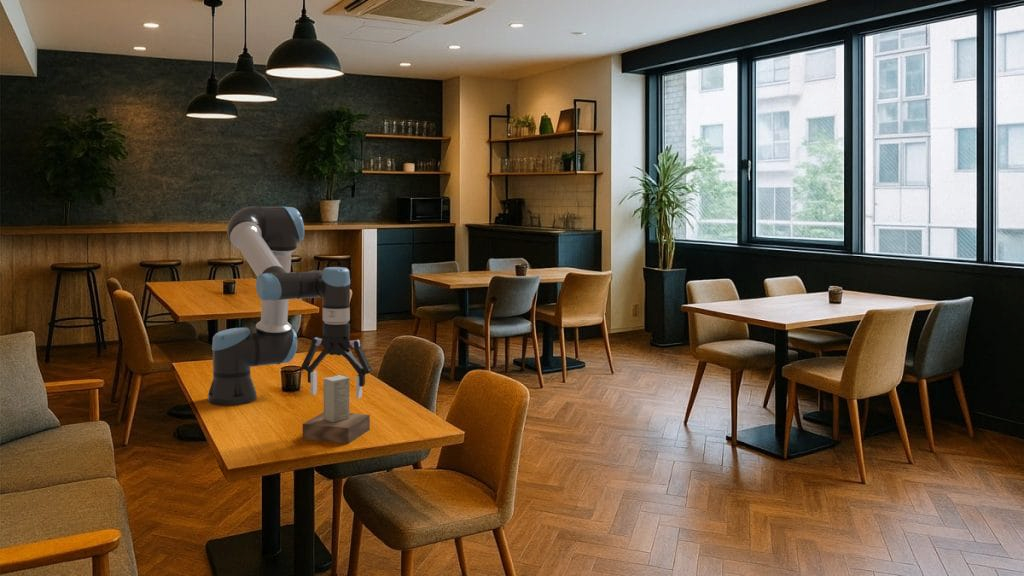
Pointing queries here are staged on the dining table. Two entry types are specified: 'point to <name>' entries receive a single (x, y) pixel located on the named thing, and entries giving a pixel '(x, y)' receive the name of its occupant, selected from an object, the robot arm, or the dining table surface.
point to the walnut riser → (336, 428)
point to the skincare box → (336, 398)
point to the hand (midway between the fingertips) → (336, 395)
